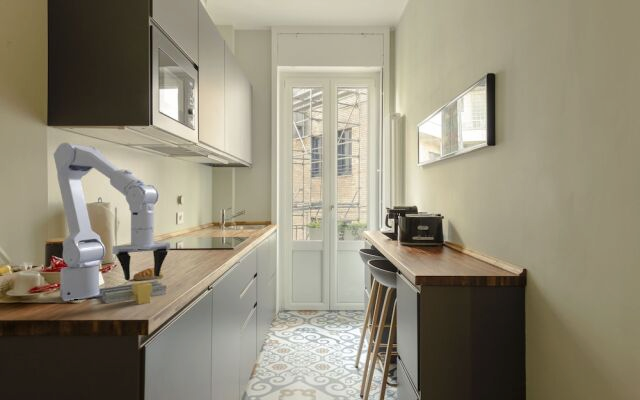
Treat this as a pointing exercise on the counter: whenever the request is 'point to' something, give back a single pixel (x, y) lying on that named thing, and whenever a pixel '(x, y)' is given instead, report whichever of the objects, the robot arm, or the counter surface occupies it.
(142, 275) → the pastry
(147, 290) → the yellow block with ridge
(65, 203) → the robot arm
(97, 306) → the counter surface
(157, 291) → the rail
